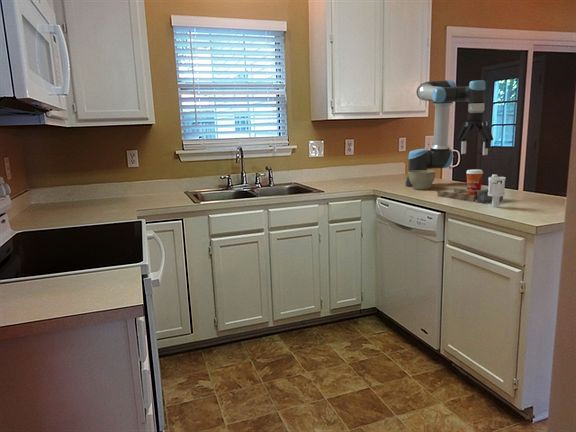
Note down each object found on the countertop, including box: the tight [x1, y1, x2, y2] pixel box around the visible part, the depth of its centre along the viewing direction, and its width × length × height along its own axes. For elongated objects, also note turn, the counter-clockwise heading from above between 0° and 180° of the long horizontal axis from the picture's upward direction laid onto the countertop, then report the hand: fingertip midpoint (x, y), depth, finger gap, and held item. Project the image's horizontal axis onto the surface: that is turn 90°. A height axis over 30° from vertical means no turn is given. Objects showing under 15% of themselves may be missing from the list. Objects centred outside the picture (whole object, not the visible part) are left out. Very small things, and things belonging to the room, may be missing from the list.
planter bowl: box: [407, 169, 437, 191], centre depth 263 cm, size 16×16×11 cm
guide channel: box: [437, 187, 504, 205], centre depth 225 cm, size 30×14×6 cm, turn 26°
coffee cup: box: [465, 169, 484, 201], centre depth 222 cm, size 8×8×15 cm
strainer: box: [487, 174, 506, 208], centre depth 199 cm, size 7×7×15 cm
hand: (473, 154), depth 222 cm, fingers open, 13 cm apart
